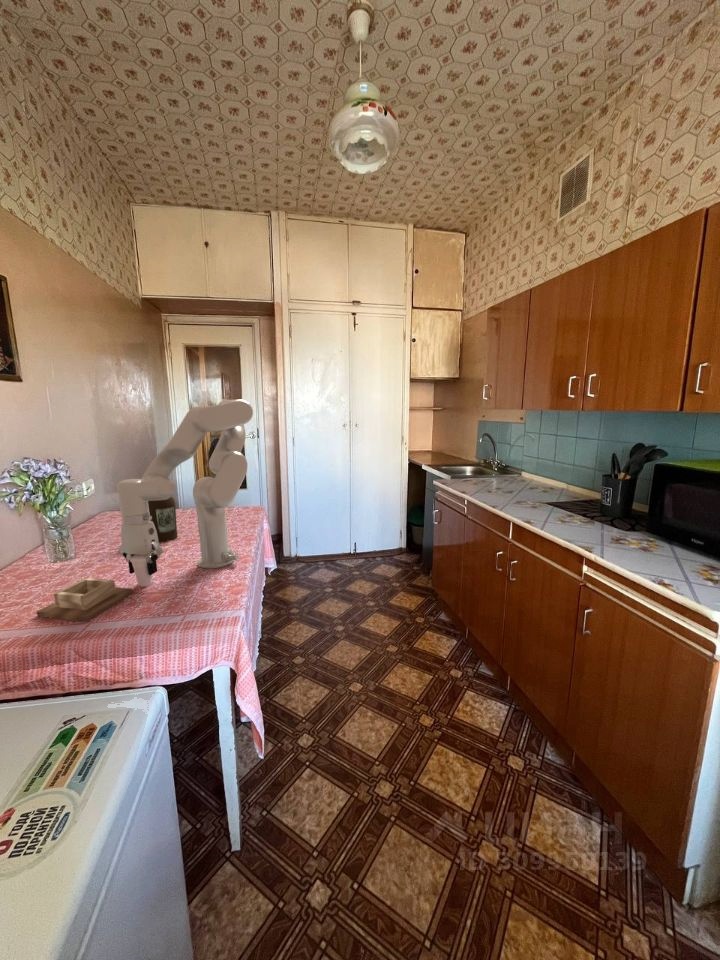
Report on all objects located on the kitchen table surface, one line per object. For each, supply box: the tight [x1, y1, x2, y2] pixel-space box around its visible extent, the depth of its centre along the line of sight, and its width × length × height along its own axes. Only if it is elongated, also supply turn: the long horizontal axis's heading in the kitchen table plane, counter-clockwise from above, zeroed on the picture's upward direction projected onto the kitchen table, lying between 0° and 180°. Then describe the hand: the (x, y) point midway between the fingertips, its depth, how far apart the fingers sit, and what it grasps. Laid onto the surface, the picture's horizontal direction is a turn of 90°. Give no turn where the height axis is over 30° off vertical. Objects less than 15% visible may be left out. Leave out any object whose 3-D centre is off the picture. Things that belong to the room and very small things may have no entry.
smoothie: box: [130, 554, 153, 588], centre depth 120 cm, size 6×6×14 cm
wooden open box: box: [36, 577, 134, 623], centre depth 109 cm, size 16×16×6 cm
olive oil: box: [148, 496, 178, 543], centre depth 162 cm, size 11×11×25 cm
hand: (143, 572), depth 121 cm, fingers closed on smoothie, 6 cm apart
